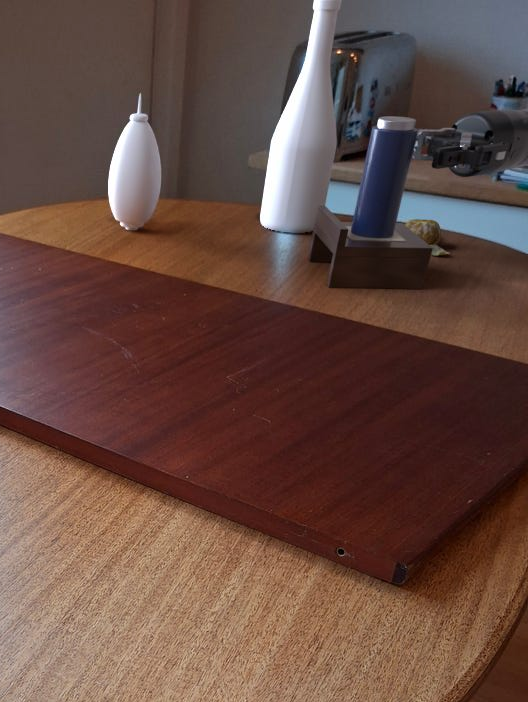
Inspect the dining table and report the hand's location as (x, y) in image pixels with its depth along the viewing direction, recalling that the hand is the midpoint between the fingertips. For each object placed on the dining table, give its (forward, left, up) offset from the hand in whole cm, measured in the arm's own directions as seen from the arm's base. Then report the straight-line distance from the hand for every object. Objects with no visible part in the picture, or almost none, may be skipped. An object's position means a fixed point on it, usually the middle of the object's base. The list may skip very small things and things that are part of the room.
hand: (408, 153), depth 111 cm
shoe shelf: (+3, +2, -14) cm, 15 cm away
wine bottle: (+8, -23, -14) cm, 28 cm away
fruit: (-8, -11, -14) cm, 20 cm away
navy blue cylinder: (+3, +2, -9) cm, 10 cm away
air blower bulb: (+33, -20, -14) cm, 41 cm away
